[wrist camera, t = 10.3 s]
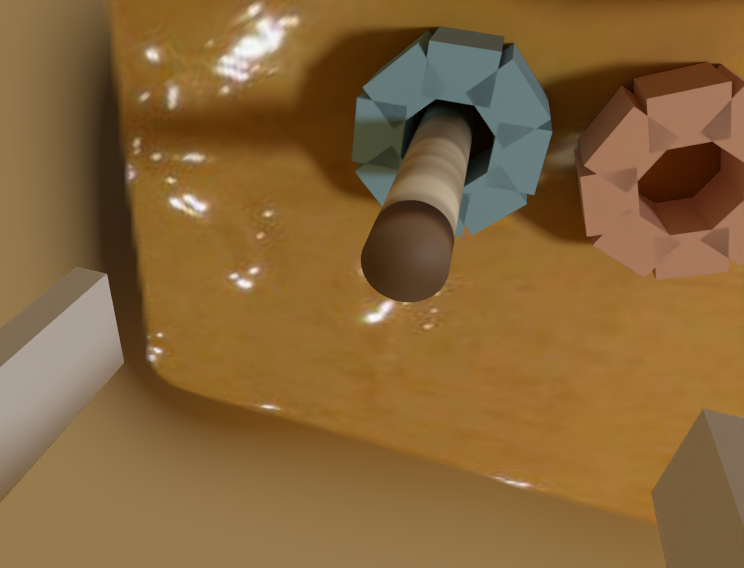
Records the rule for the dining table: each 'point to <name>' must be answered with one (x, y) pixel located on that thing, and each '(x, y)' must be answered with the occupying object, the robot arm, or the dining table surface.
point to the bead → (468, 86)
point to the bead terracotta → (642, 149)
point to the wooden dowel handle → (422, 208)
